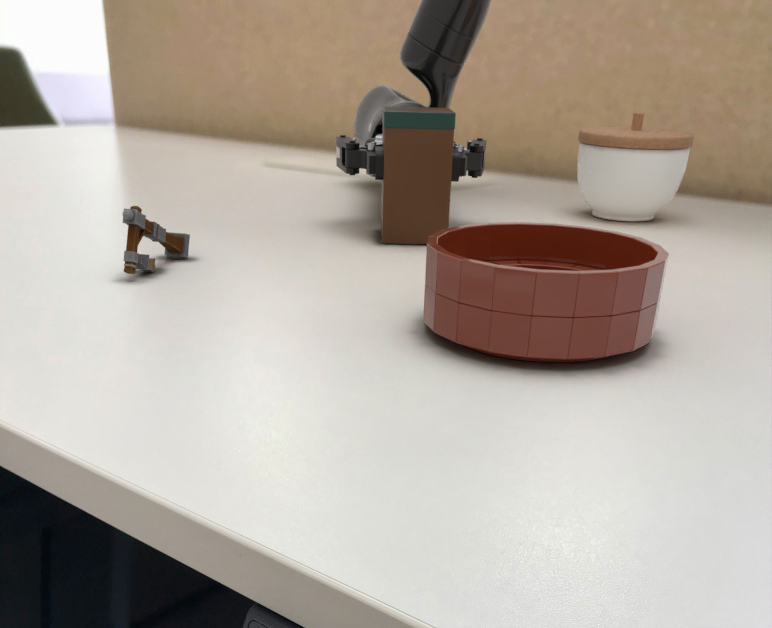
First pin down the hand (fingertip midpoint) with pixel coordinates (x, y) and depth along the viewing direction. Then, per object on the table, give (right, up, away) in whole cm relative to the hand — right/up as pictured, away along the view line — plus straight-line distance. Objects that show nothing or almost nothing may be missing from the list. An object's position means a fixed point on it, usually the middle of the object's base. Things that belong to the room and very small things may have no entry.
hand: (418, 166), depth 66 cm
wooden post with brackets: (-19, -10, -6) cm, 22 cm away
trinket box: (+21, +2, +17) cm, 27 cm away
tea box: (0, -4, +5) cm, 7 cm away
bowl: (+6, -17, -18) cm, 25 cm away
